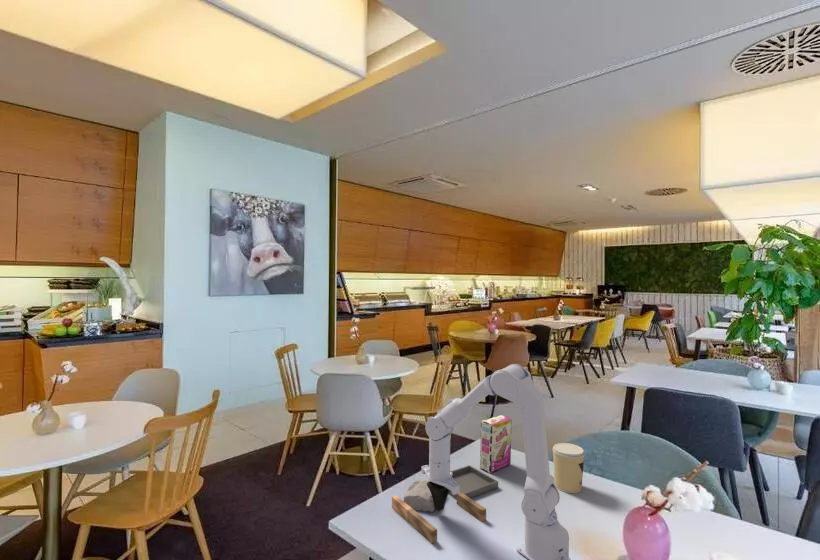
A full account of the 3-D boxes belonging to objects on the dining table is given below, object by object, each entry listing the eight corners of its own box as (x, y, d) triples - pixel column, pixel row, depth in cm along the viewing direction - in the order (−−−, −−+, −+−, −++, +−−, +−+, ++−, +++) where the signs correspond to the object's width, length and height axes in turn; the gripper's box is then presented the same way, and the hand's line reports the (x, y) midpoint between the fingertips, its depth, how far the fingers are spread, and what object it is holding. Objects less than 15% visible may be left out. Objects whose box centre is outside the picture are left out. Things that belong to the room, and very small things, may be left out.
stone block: (402, 514, 116) (435, 513, 113) (399, 496, 117) (432, 495, 114) (414, 495, 127) (445, 494, 124) (412, 479, 128) (443, 477, 125)
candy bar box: (491, 474, 136) (491, 424, 136) (479, 469, 140) (479, 420, 140) (511, 464, 143) (512, 417, 143) (500, 459, 147) (500, 414, 147)
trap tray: (498, 487, 127) (498, 481, 127) (460, 502, 119) (460, 495, 119) (469, 471, 138) (469, 465, 138) (433, 483, 130) (433, 476, 130)
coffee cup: (587, 496, 123) (588, 455, 123) (555, 493, 125) (555, 453, 125) (580, 480, 132) (580, 443, 132) (549, 478, 134) (550, 441, 134)
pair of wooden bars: (486, 520, 110) (486, 508, 110) (432, 543, 100) (432, 531, 100) (442, 489, 126) (442, 479, 126) (391, 507, 116) (391, 496, 116)
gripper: (468, 465, 109) (468, 517, 109) (435, 447, 121) (435, 493, 121) (447, 472, 105) (447, 526, 105) (415, 452, 117) (415, 500, 117)
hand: (439, 509), depth 113 cm, fingers closed
